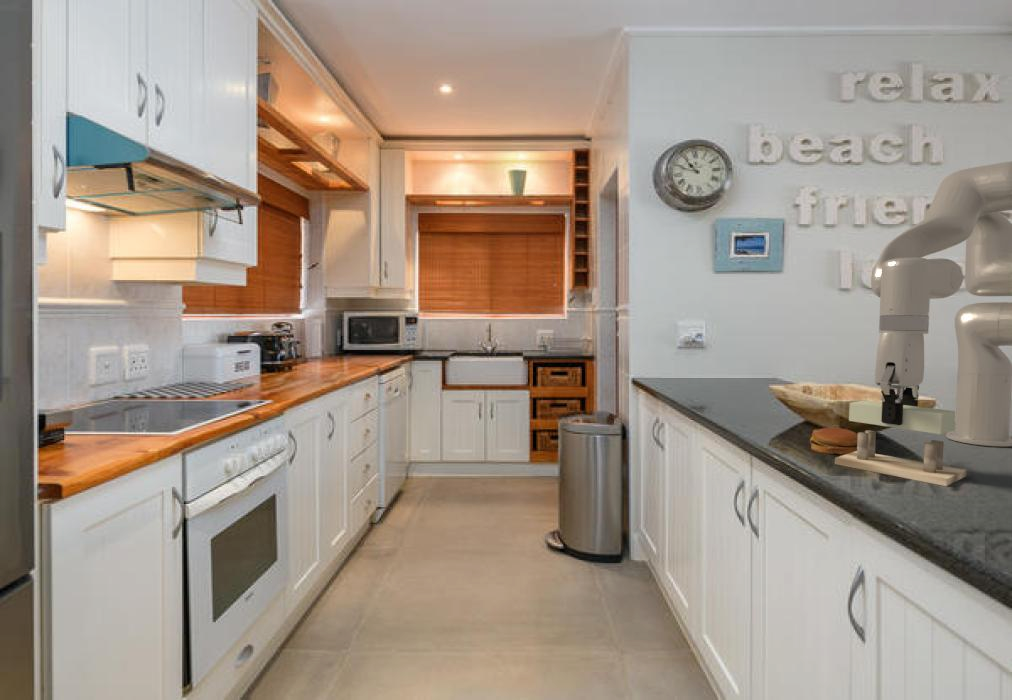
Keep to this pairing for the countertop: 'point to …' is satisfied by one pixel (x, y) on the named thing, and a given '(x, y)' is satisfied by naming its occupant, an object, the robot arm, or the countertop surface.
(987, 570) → the countertop surface
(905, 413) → the shelf board
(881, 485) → the countertop surface
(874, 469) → the peg rack
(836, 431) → the burger
